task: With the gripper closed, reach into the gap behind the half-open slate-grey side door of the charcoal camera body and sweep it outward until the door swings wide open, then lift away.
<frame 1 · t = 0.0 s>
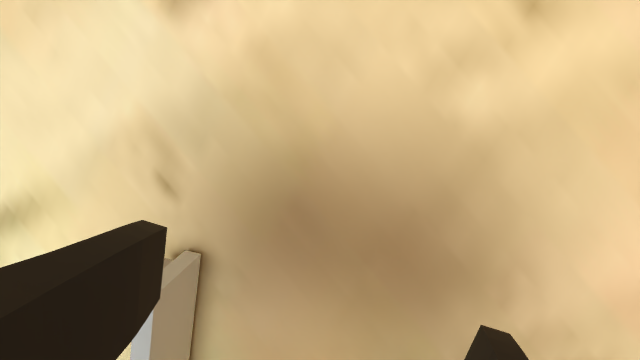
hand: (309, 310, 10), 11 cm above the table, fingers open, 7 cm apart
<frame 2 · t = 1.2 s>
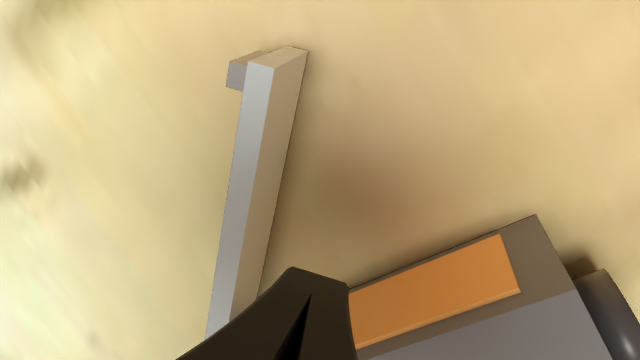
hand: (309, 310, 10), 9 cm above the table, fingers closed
side door: (242, 227, 18), point 3 cm above the table, hinge at 45.0°
camera body: (421, 343, 21), on the table
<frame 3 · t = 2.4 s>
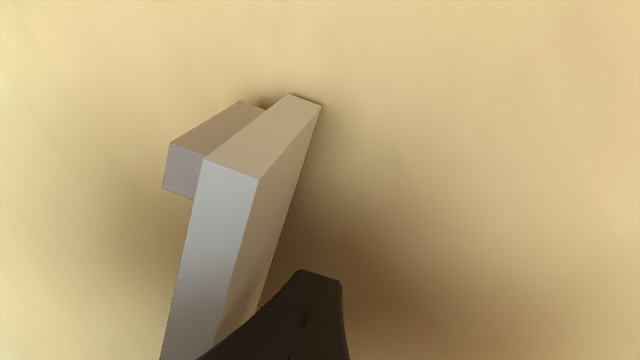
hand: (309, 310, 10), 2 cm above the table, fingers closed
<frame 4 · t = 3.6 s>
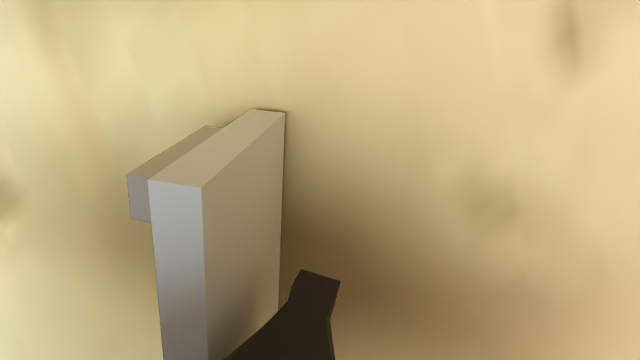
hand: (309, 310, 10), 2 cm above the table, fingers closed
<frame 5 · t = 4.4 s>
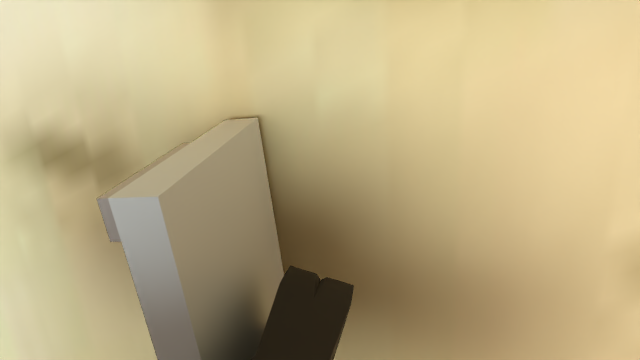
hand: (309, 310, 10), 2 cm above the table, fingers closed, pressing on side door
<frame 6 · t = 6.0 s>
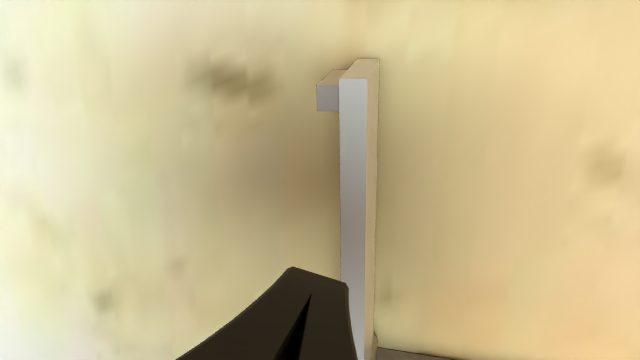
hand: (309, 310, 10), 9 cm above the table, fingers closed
side door: (352, 250, 17), point 3 cm above the table, hinge at 93.0°, touching camera body
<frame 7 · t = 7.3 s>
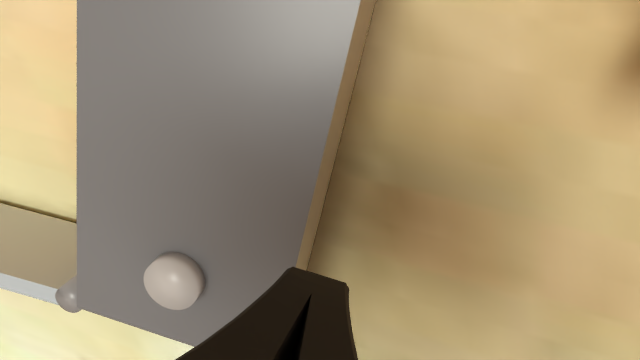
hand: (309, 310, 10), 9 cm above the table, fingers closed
camera body: (243, 133, 19), on the table
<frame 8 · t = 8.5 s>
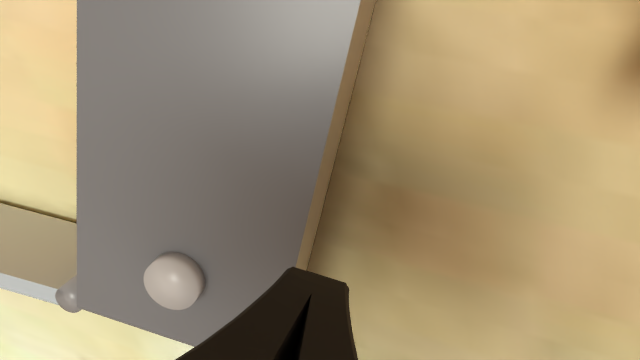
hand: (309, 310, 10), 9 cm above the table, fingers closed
camera body: (243, 133, 19), on the table
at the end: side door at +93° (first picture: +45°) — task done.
